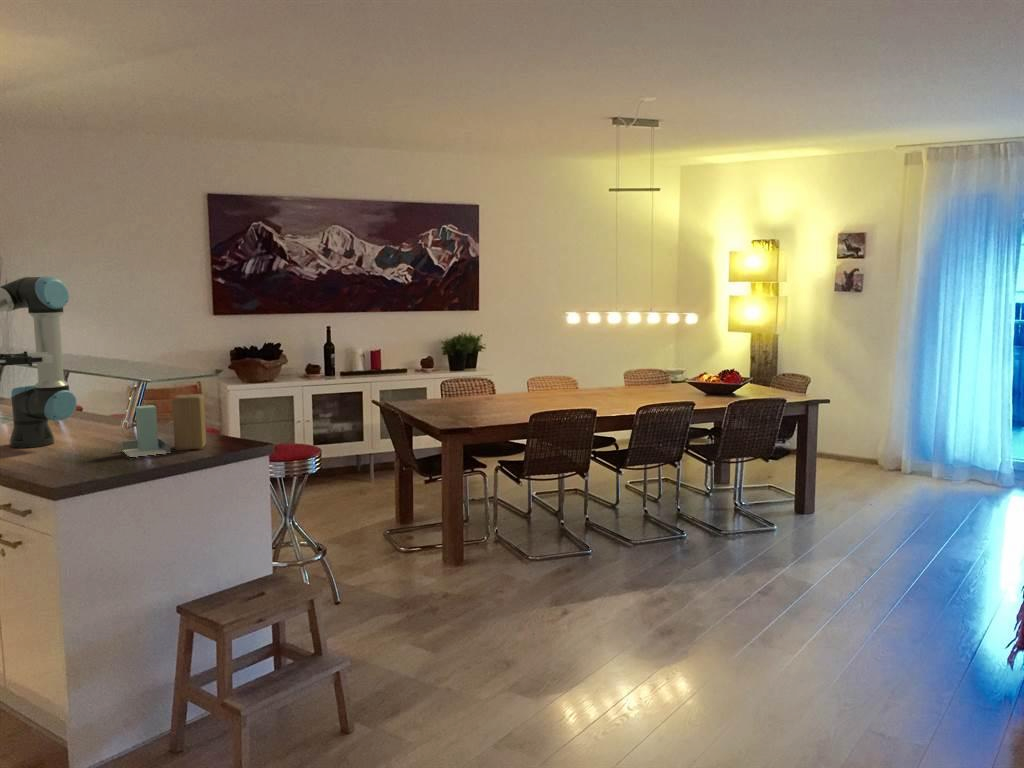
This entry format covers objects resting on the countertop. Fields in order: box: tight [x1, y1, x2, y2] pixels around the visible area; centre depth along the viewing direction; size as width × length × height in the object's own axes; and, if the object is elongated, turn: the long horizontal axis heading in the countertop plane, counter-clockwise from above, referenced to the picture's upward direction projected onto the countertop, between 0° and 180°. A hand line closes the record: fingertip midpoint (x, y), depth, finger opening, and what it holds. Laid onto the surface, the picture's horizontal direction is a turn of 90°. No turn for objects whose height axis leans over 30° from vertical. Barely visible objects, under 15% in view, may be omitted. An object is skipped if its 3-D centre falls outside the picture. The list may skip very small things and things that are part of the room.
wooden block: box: [171, 393, 207, 451], centre depth 324 cm, size 10×10×20 cm
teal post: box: [134, 404, 159, 452], centre depth 316 cm, size 6×6×16 cm
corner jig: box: [121, 436, 171, 458], centre depth 316 cm, size 14×14×4 cm
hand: (50, 357), depth 307 cm, fingers open, 13 cm apart
